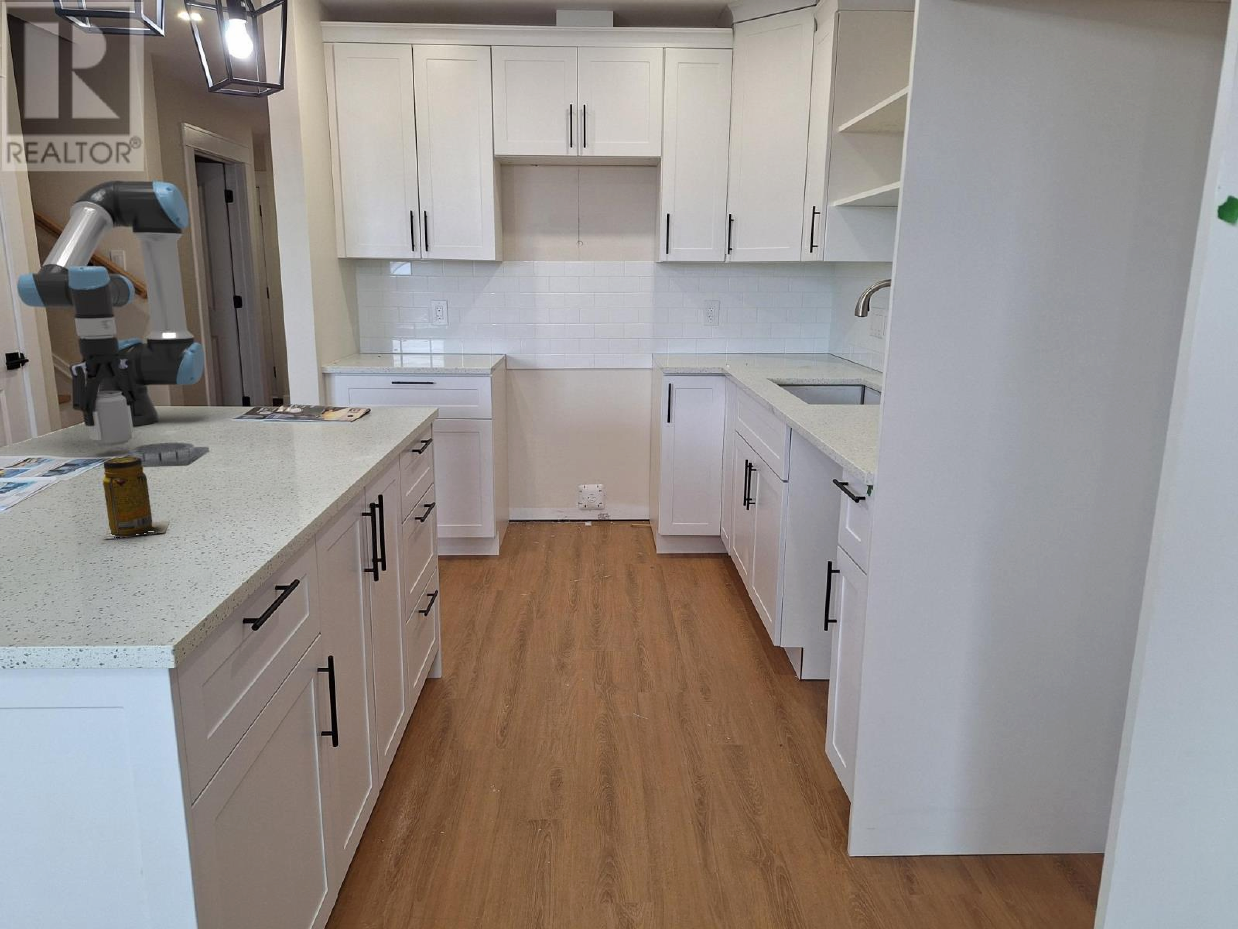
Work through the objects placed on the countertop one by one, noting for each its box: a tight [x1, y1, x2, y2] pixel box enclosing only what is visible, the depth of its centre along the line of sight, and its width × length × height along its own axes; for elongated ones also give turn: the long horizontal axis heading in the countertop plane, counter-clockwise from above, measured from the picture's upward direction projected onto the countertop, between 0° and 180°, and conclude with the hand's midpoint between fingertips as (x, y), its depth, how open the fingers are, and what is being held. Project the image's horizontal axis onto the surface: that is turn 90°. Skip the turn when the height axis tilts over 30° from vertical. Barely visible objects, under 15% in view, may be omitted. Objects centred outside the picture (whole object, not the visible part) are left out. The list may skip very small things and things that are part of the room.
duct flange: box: [124, 441, 210, 467], centre depth 182 cm, size 15×15×2 cm
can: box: [93, 390, 132, 447], centre depth 185 cm, size 8×8×12 cm
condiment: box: [102, 456, 170, 540], centre depth 130 cm, size 7×8×12 cm
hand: (112, 435), depth 186 cm, fingers closed on can, 7 cm apart
